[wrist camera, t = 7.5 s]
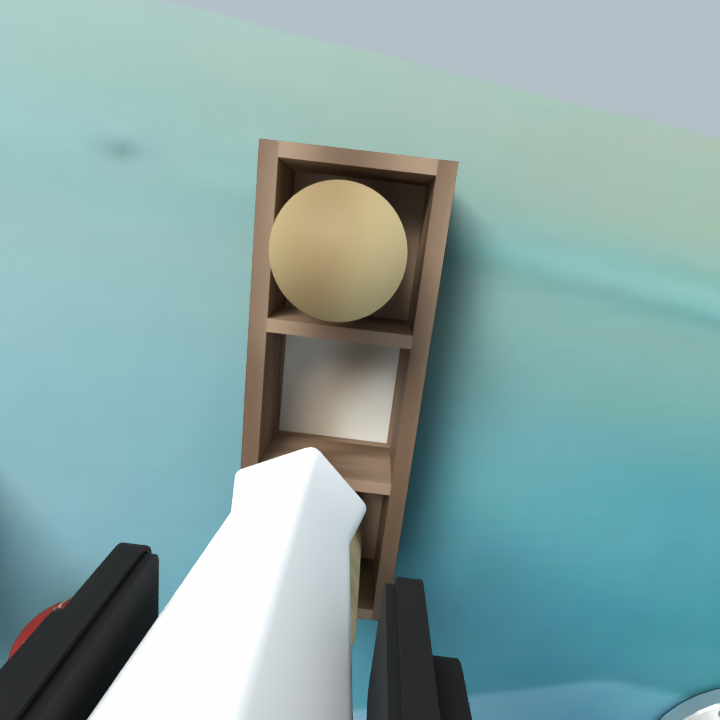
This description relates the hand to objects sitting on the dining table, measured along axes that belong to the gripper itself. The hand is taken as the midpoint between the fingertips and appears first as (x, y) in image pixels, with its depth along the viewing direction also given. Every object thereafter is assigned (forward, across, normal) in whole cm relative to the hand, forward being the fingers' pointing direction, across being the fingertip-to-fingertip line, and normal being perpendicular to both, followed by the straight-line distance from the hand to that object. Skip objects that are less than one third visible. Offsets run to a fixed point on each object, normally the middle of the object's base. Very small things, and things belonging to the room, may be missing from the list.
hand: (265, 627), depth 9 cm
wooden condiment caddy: (+18, 0, 0) cm, 18 cm away
